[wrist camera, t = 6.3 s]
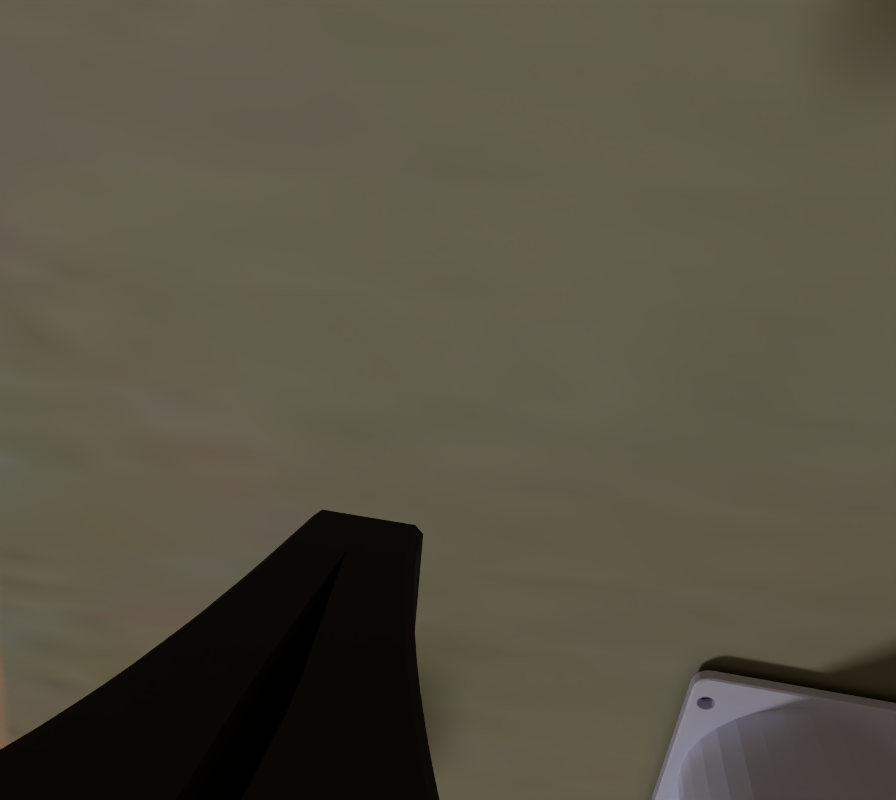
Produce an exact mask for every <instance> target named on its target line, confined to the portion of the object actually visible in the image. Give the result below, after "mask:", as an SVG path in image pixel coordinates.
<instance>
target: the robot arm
mask: <svg viewBox="0 0 896 800" xmlns="http://www.w3.org/2000/svg"><path fill="white" fill-rule="evenodd" d="M422 541H423V534H422V532H421V531H420V530H419V529H418V528H417V527H416V525H411V524H405V523H399V522H393V521H387V520H381V519H375V518H369V517H363V516H357V515H351V514H345V513H339V512H333V511H327V510H321V511H320V512H318V513H317V514H315V515H314V516H313V517H311V518H310V519H309V520H308V521H307V522H306V523H305V524H304V525H303V526H301V527H300V528H299V529H298V530H297V531H296V532H295V533H294V534H293V535H292V536H290V537H289V538H288V539H287V540H286V541H285V542H284V543H283V544H282V545H280V546H279V547H278V548H277V549H276V550H275V551H274V552H273V553H271V554H270V555H269V556H268V557H267V558H266V559H265V560H263V561H262V562H261V563H260V564H259V565H258V566H256V567H255V568H254V569H253V570H252V571H251V572H250V573H248V574H247V575H246V576H245V577H244V578H242V579H241V580H240V581H239V582H238V583H236V584H235V585H234V586H233V587H232V588H230V589H229V590H228V591H227V592H225V593H224V594H223V595H222V596H221V597H219V598H218V599H217V600H216V601H215V602H213V603H212V604H211V605H210V606H209V607H207V608H206V609H205V610H204V611H202V612H201V613H200V614H199V615H197V616H196V617H195V618H194V619H192V620H191V621H190V622H188V623H187V624H186V625H184V626H183V627H182V628H180V629H179V630H178V631H176V632H175V633H174V634H172V635H171V636H170V637H168V638H167V639H166V640H164V641H163V642H162V643H160V644H159V645H158V646H156V647H155V648H154V649H152V650H151V651H150V652H148V653H147V654H146V655H144V656H143V657H142V658H140V659H139V660H138V661H136V662H135V663H134V664H132V665H131V666H129V667H128V668H127V669H125V670H124V671H122V672H121V673H119V674H118V675H117V676H115V677H114V678H112V679H111V680H109V681H108V682H106V683H105V684H104V685H102V686H101V687H99V688H98V689H96V690H95V691H93V692H92V693H90V694H89V695H87V696H86V697H84V698H83V699H81V700H80V701H78V702H77V703H75V704H73V705H72V706H70V707H69V708H67V709H66V710H64V711H63V712H61V713H59V714H58V715H56V716H55V717H53V718H52V719H50V720H48V721H47V722H45V723H44V724H42V725H41V726H39V727H37V728H36V729H34V730H33V731H31V732H29V733H28V734H26V735H24V736H23V737H21V738H19V739H17V740H16V741H14V742H12V743H11V744H9V745H7V746H6V747H4V748H2V749H0V800H439V796H438V791H437V786H436V782H435V777H434V772H433V767H432V761H431V756H430V751H429V745H428V739H427V733H426V727H425V721H424V714H423V707H422V700H421V693H420V686H419V677H418V668H417V657H416V643H415V621H416V610H417V598H418V587H419V575H420V564H421V552H422ZM702 697H709V698H707V699H701V698H702ZM651 800H896V703H892V702H886V701H881V700H875V699H869V698H864V697H858V696H853V695H847V694H841V693H836V692H830V691H824V690H819V689H813V688H807V687H802V686H796V685H790V684H785V683H779V682H773V681H768V680H762V679H756V678H751V677H745V676H739V675H734V674H728V673H722V672H717V671H709V670H705V671H701V672H698V673H697V674H695V675H694V676H693V678H692V679H691V682H690V685H689V688H688V691H687V694H686V697H685V700H684V703H683V706H682V709H681V712H680V715H679V718H678V721H677V724H676V727H675V730H674V733H673V736H672V739H671V742H670V745H669V748H668V751H667V754H666V757H665V760H664V763H663V766H662V769H661V772H660V775H659V778H658V781H657V784H656V787H655V790H654V793H653V796H652V799H651Z"/></svg>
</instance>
